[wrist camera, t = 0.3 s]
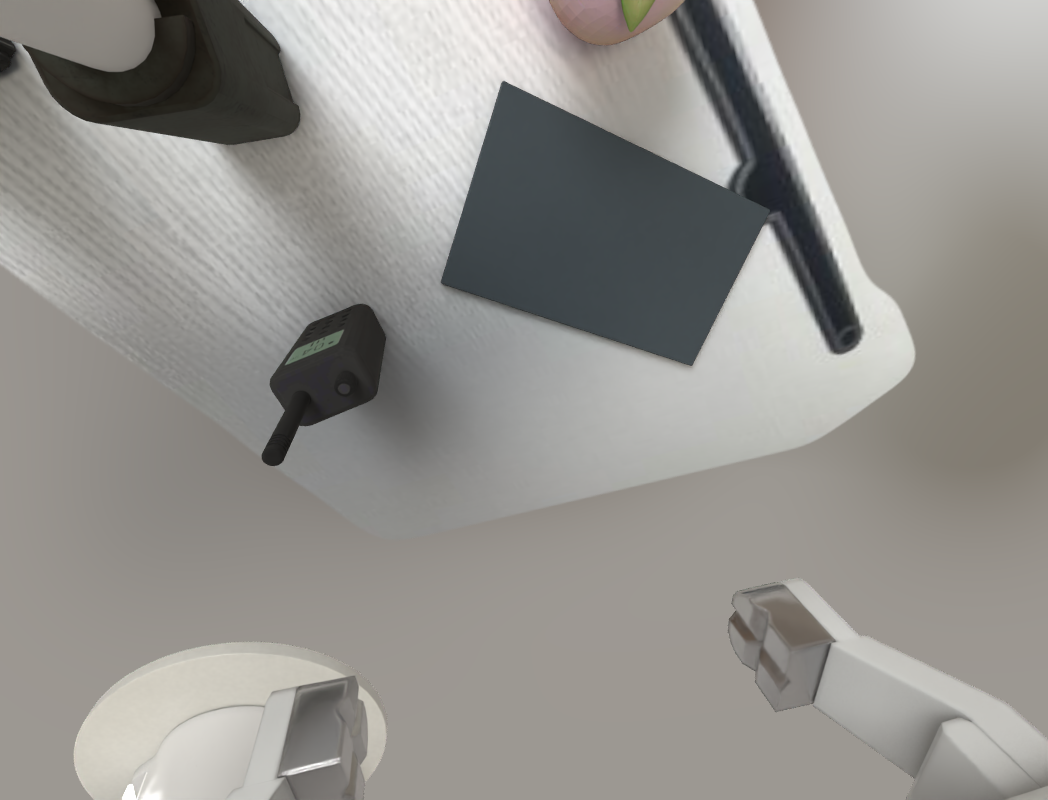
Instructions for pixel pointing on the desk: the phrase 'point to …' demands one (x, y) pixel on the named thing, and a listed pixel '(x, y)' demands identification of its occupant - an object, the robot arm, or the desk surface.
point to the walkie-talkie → (326, 374)
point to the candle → (158, 65)
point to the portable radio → (5, 53)
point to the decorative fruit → (611, 17)
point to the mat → (597, 231)
